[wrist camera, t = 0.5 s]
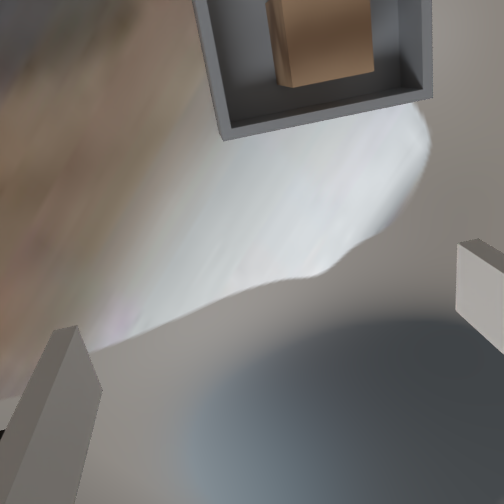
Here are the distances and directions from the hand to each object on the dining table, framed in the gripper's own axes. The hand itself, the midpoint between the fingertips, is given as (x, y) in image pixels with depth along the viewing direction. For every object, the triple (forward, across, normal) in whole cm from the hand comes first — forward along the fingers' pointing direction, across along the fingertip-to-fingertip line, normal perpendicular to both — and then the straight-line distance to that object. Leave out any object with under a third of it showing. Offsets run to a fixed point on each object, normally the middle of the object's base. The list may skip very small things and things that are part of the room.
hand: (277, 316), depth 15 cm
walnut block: (+26, +9, +8) cm, 29 cm away
